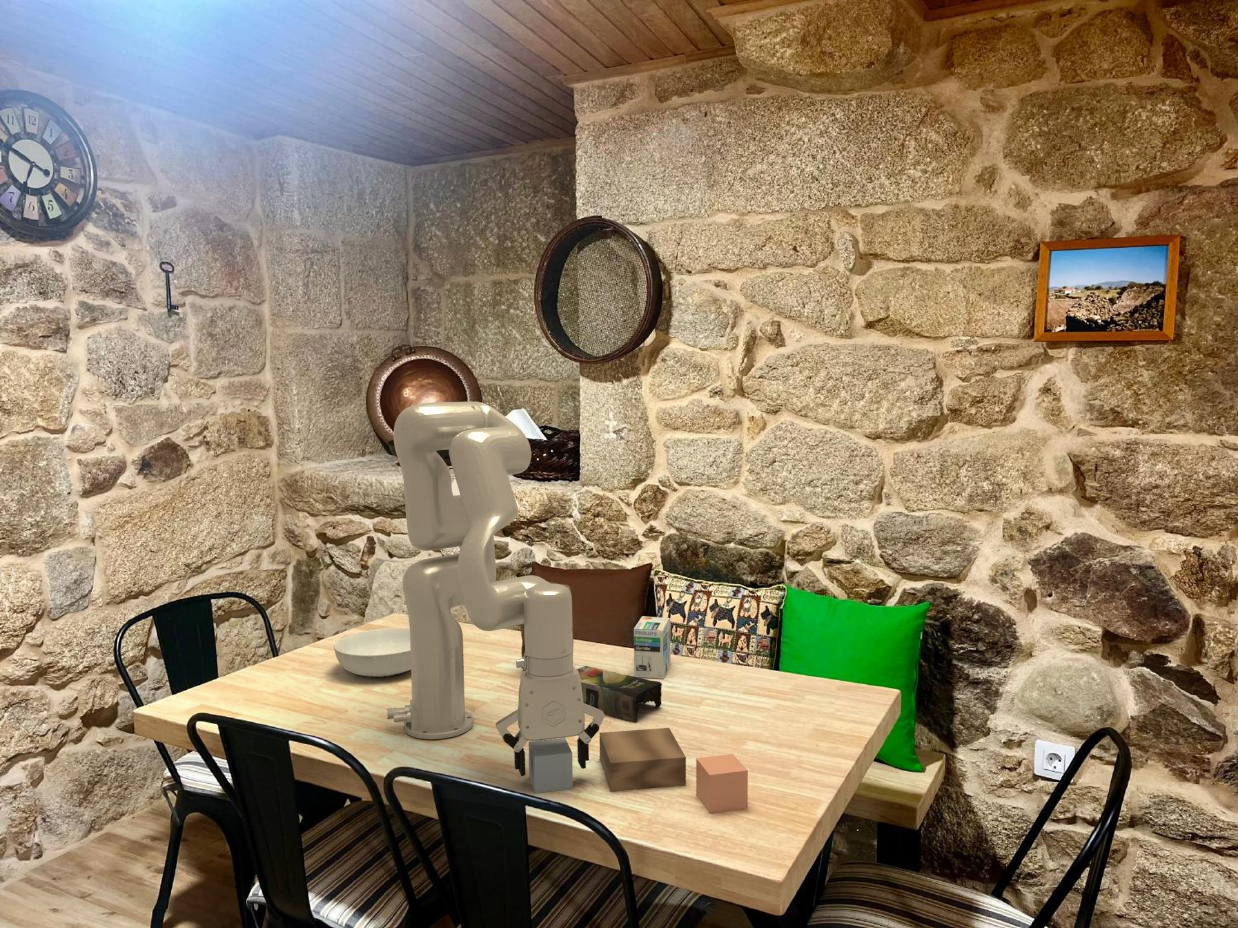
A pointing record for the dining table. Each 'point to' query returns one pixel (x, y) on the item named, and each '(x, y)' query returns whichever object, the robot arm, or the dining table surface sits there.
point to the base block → (642, 759)
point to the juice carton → (617, 692)
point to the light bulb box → (652, 647)
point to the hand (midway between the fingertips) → (552, 768)
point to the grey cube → (550, 765)
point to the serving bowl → (375, 652)
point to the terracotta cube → (721, 783)
